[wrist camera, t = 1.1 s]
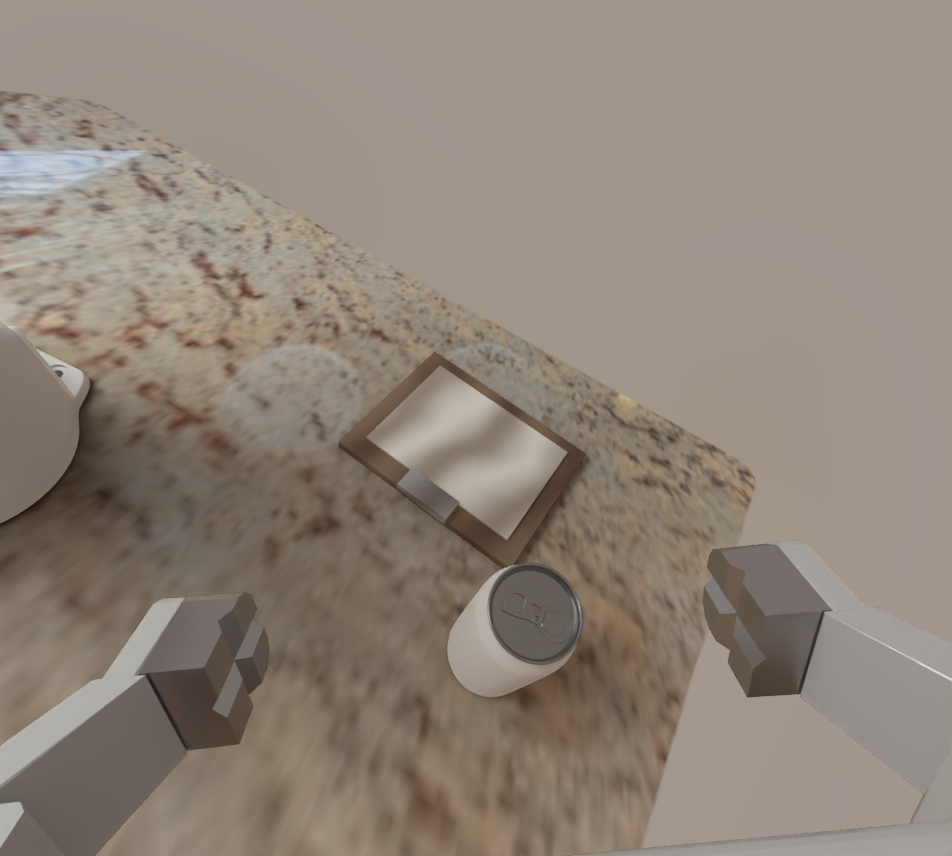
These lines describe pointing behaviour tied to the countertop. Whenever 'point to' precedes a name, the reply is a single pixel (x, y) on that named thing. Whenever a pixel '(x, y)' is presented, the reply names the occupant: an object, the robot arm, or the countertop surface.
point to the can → (515, 630)
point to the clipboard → (465, 457)
